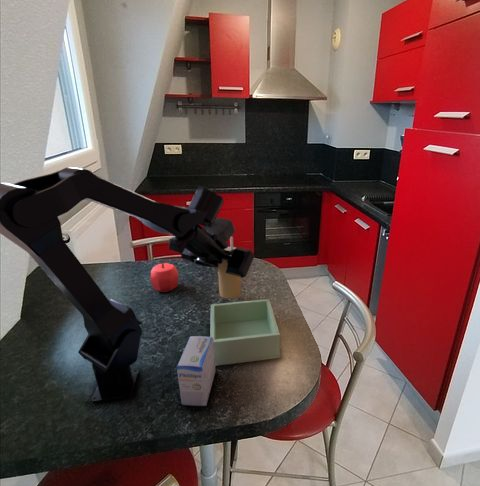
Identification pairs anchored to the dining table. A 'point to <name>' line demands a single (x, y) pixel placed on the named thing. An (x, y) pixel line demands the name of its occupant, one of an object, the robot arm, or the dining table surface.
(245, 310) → the bin
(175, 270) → the apple
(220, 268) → the straw cup
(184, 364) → the medicine box
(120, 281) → the dining table surface
